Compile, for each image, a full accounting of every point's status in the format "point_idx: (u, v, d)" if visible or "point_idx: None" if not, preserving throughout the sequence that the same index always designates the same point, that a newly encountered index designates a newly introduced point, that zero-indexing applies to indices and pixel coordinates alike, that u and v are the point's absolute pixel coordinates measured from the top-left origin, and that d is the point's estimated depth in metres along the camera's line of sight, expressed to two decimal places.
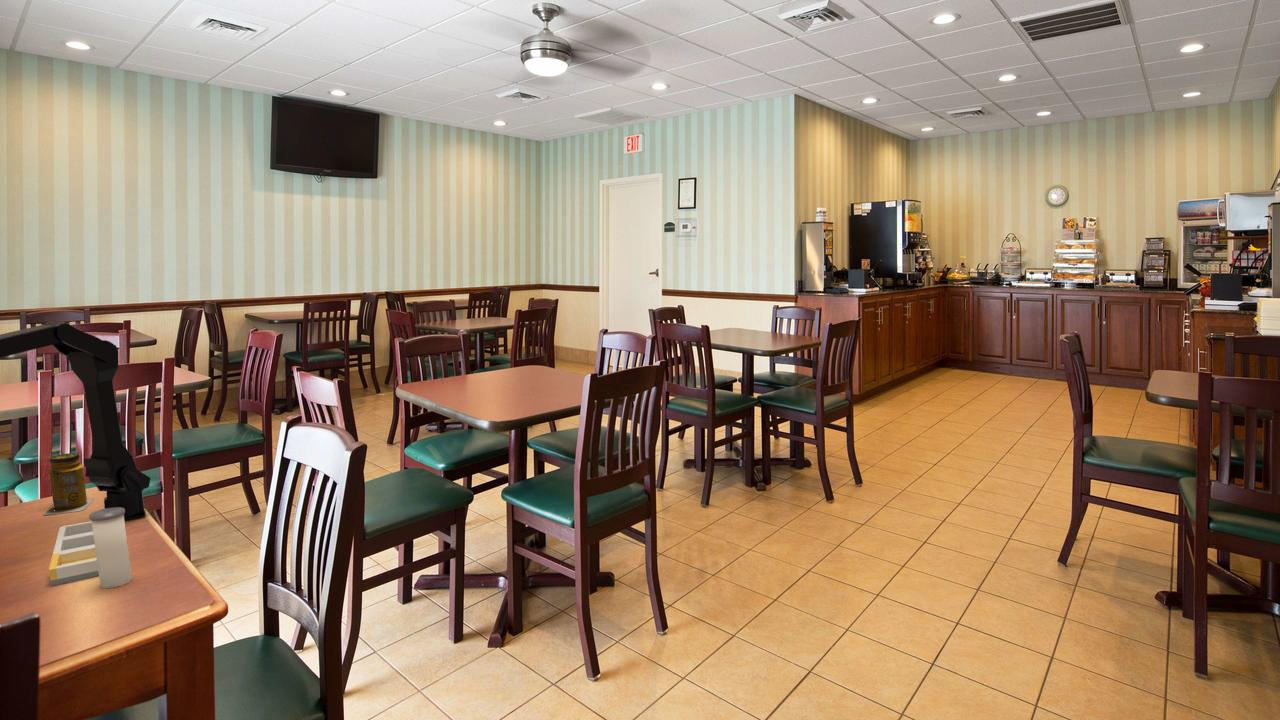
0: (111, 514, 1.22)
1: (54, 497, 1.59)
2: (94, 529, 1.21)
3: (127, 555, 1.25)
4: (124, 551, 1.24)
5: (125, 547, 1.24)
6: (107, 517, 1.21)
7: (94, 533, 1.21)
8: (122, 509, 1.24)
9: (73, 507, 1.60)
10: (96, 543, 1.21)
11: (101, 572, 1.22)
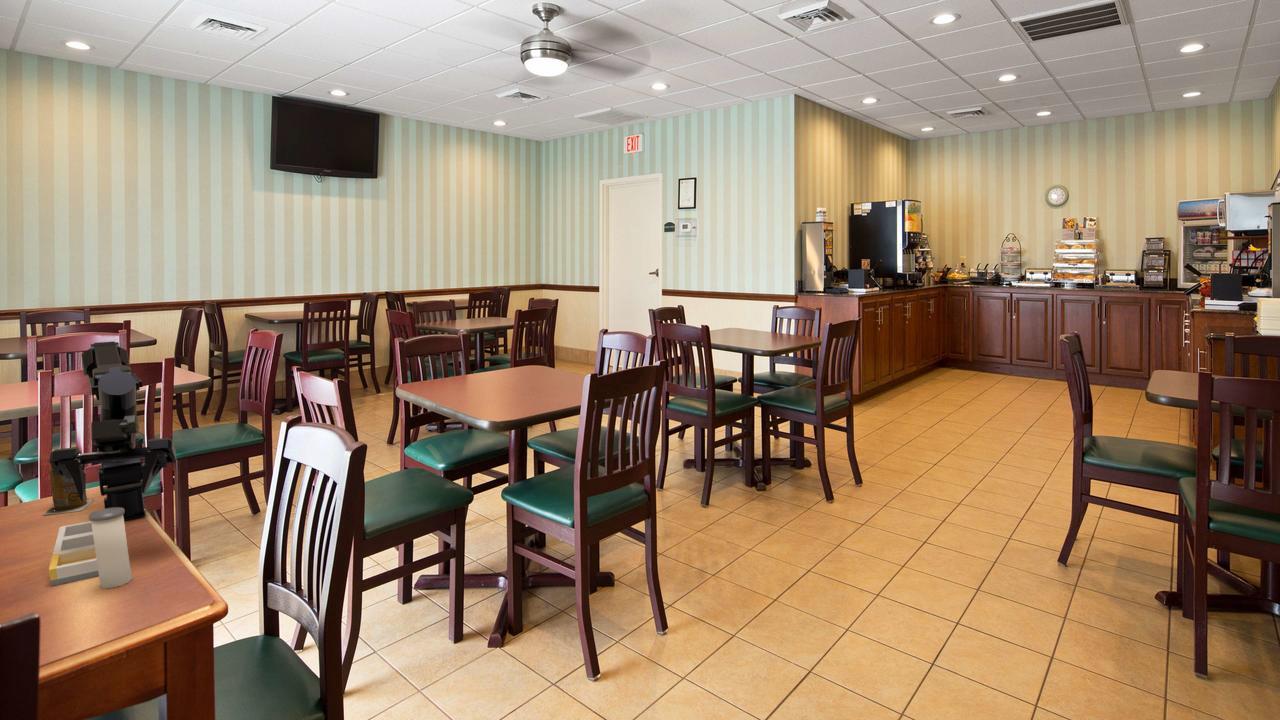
0: (111, 514, 1.22)
1: (54, 497, 1.59)
2: (94, 529, 1.21)
3: (127, 555, 1.25)
4: (124, 551, 1.24)
5: (125, 547, 1.24)
6: (107, 517, 1.21)
7: (94, 533, 1.21)
8: (122, 509, 1.24)
9: (73, 507, 1.60)
10: (96, 543, 1.21)
11: (101, 572, 1.22)
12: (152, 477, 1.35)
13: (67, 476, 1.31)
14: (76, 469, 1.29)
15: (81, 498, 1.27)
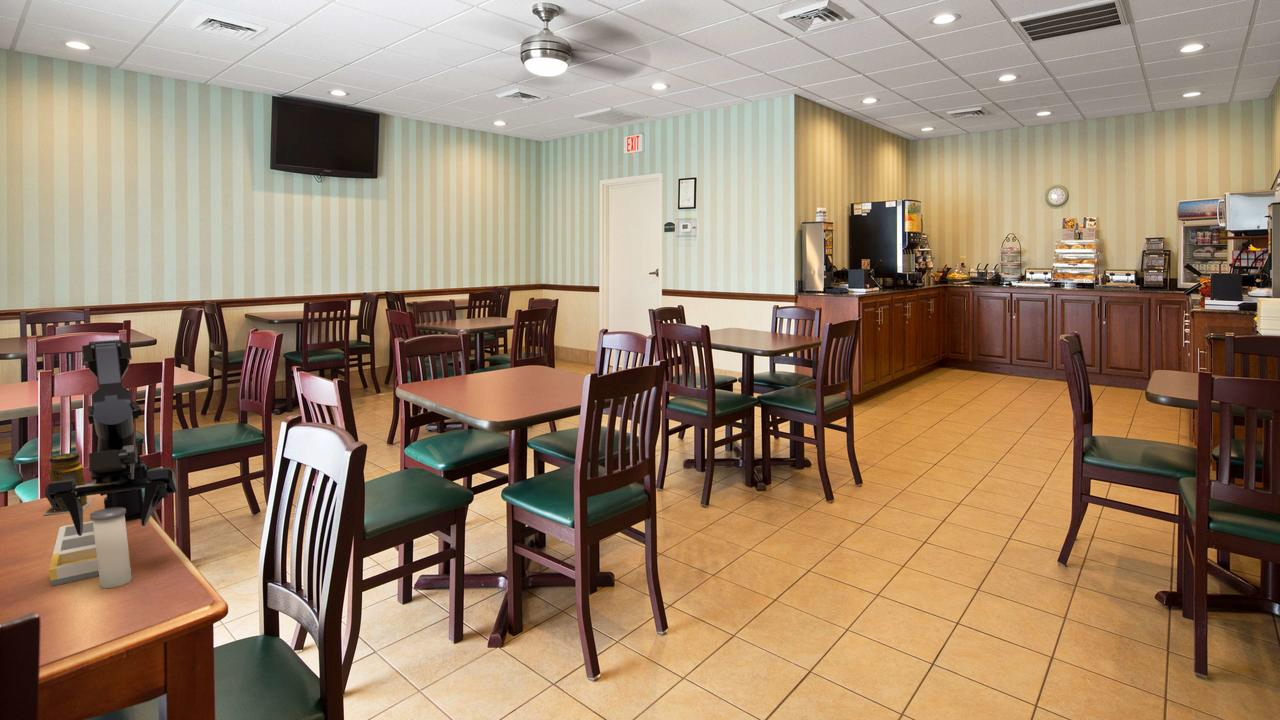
0: (112, 514, 1.22)
1: None
2: (95, 529, 1.21)
3: (127, 555, 1.25)
4: (125, 551, 1.24)
5: (126, 547, 1.24)
6: (108, 517, 1.21)
7: (95, 533, 1.21)
8: (123, 509, 1.24)
9: None
10: (97, 543, 1.21)
11: (101, 572, 1.22)
12: (152, 509, 1.30)
13: (64, 509, 1.26)
14: (73, 502, 1.24)
15: (78, 532, 1.22)
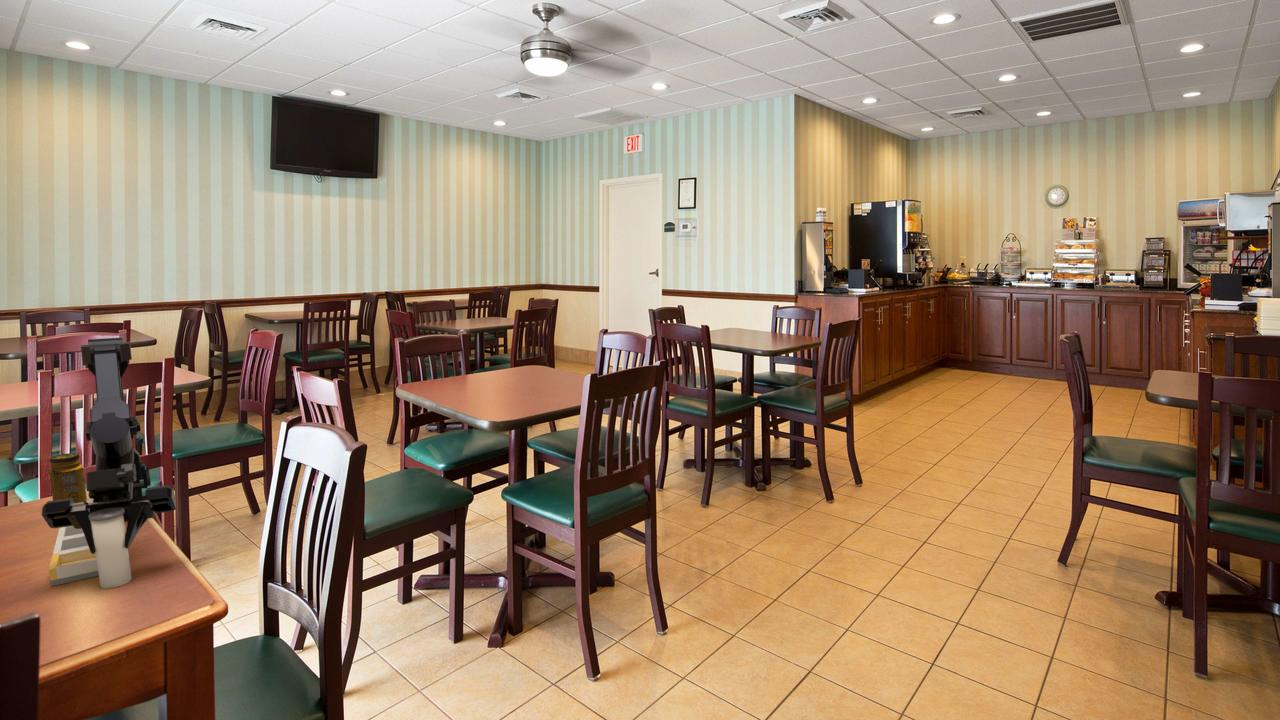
0: (111, 514, 1.22)
1: (54, 497, 1.59)
2: (94, 529, 1.21)
3: (127, 555, 1.25)
4: (124, 551, 1.24)
5: (125, 547, 1.24)
6: (107, 517, 1.21)
7: (94, 533, 1.21)
8: (122, 509, 1.24)
9: None
10: (96, 543, 1.21)
11: (101, 572, 1.22)
12: (136, 530, 1.27)
13: (76, 526, 1.25)
14: (86, 520, 1.23)
15: (91, 551, 1.21)
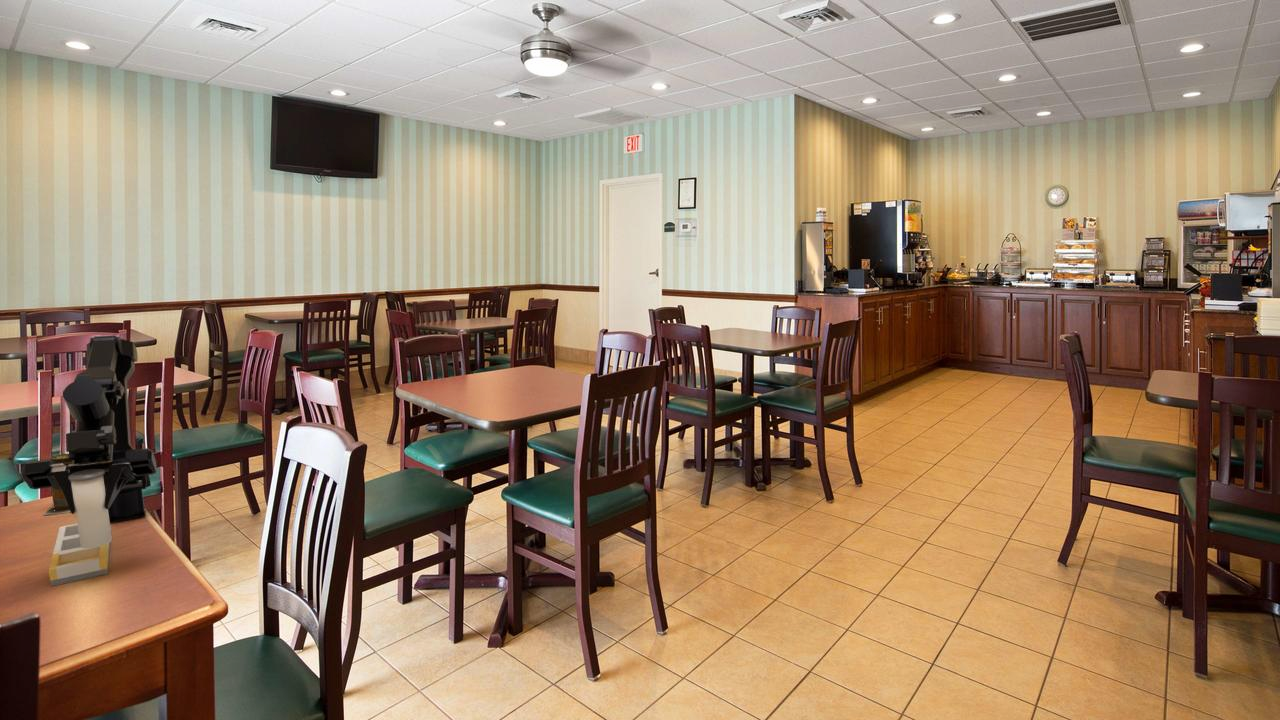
0: (91, 475, 1.23)
1: (54, 497, 1.59)
2: (74, 490, 1.22)
3: (107, 516, 1.26)
4: (104, 511, 1.25)
5: (105, 508, 1.25)
6: (87, 478, 1.22)
7: (74, 494, 1.22)
8: (101, 470, 1.25)
9: None
10: (76, 503, 1.23)
11: (81, 532, 1.23)
12: (116, 492, 1.28)
13: (56, 487, 1.26)
14: (66, 480, 1.24)
15: (71, 511, 1.22)
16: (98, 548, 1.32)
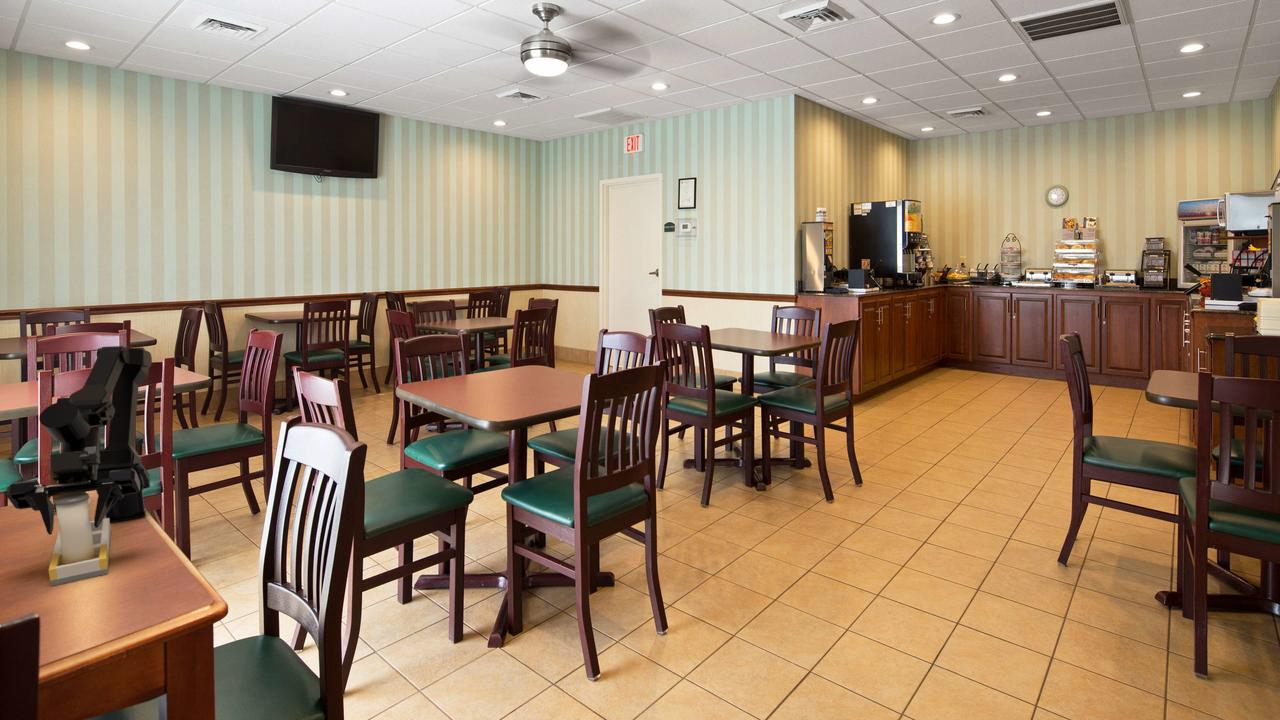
0: (75, 499, 1.26)
1: (54, 497, 1.59)
2: (58, 513, 1.25)
3: (91, 539, 1.29)
4: (88, 535, 1.28)
5: (89, 531, 1.28)
6: (71, 502, 1.25)
7: (58, 517, 1.25)
8: (86, 494, 1.28)
9: None
10: (60, 527, 1.25)
11: (65, 555, 1.26)
12: (106, 511, 1.31)
13: (35, 508, 1.28)
14: (43, 501, 1.26)
15: (48, 531, 1.25)
16: (98, 548, 1.32)
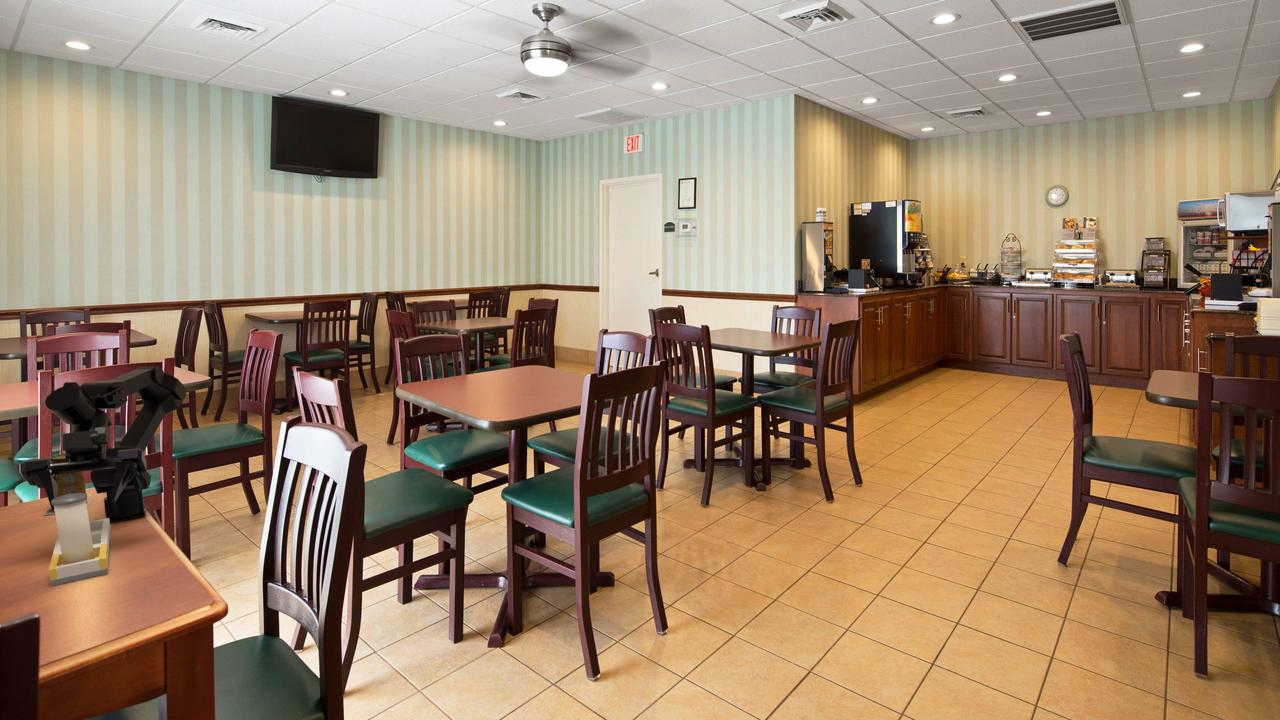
0: (73, 499, 1.26)
1: None
2: (56, 514, 1.25)
3: (90, 539, 1.29)
4: (87, 534, 1.28)
5: (88, 531, 1.28)
6: (69, 502, 1.25)
7: (57, 517, 1.25)
8: (84, 494, 1.28)
9: None
10: (59, 527, 1.25)
11: (64, 555, 1.26)
12: (122, 487, 1.39)
13: (39, 485, 1.36)
14: (48, 479, 1.33)
15: (52, 507, 1.32)
16: (98, 548, 1.32)
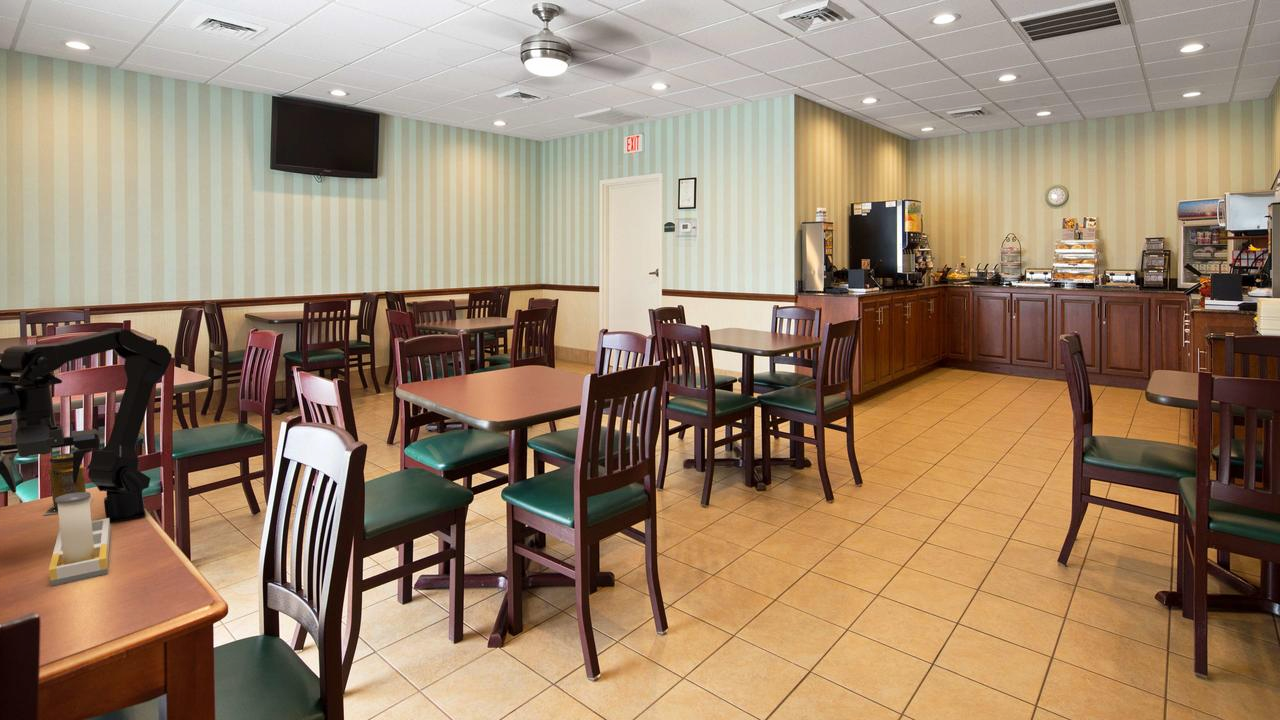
0: (76, 497, 1.26)
1: (54, 497, 1.59)
2: (59, 512, 1.25)
3: (91, 538, 1.29)
4: (88, 534, 1.28)
5: (90, 530, 1.28)
6: (72, 500, 1.25)
7: (59, 516, 1.26)
8: (88, 493, 1.29)
9: None
10: (61, 525, 1.26)
11: (65, 554, 1.26)
12: None
13: None
14: (3, 467, 1.34)
15: (14, 492, 1.36)
16: (98, 548, 1.32)
